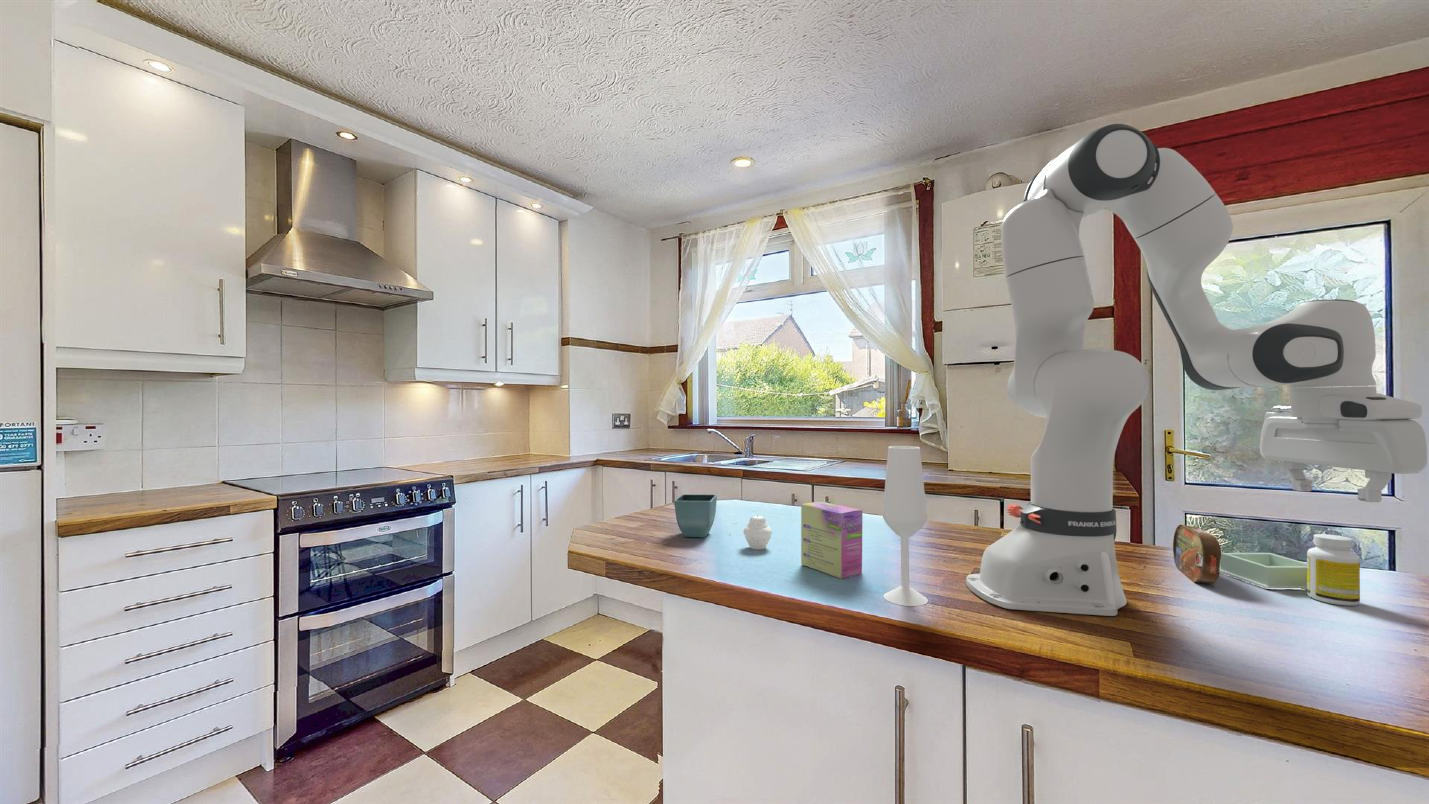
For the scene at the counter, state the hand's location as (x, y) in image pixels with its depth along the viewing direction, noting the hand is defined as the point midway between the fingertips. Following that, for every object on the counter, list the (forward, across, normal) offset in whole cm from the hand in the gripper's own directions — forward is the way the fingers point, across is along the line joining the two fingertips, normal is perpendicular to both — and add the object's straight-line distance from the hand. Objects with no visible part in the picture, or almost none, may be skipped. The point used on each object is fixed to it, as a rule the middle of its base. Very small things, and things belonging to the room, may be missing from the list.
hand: (1333, 495), depth 84 cm
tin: (+16, -12, -12) cm, 23 cm away
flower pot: (+15, -42, -102) cm, 111 cm away
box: (+15, -16, -74) cm, 78 cm away
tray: (+16, -9, -1) cm, 18 cm away
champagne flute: (+15, 0, -65) cm, 67 cm away
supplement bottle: (+16, 0, 0) cm, 16 cm away
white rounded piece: (+15, -30, -88) cm, 94 cm away
